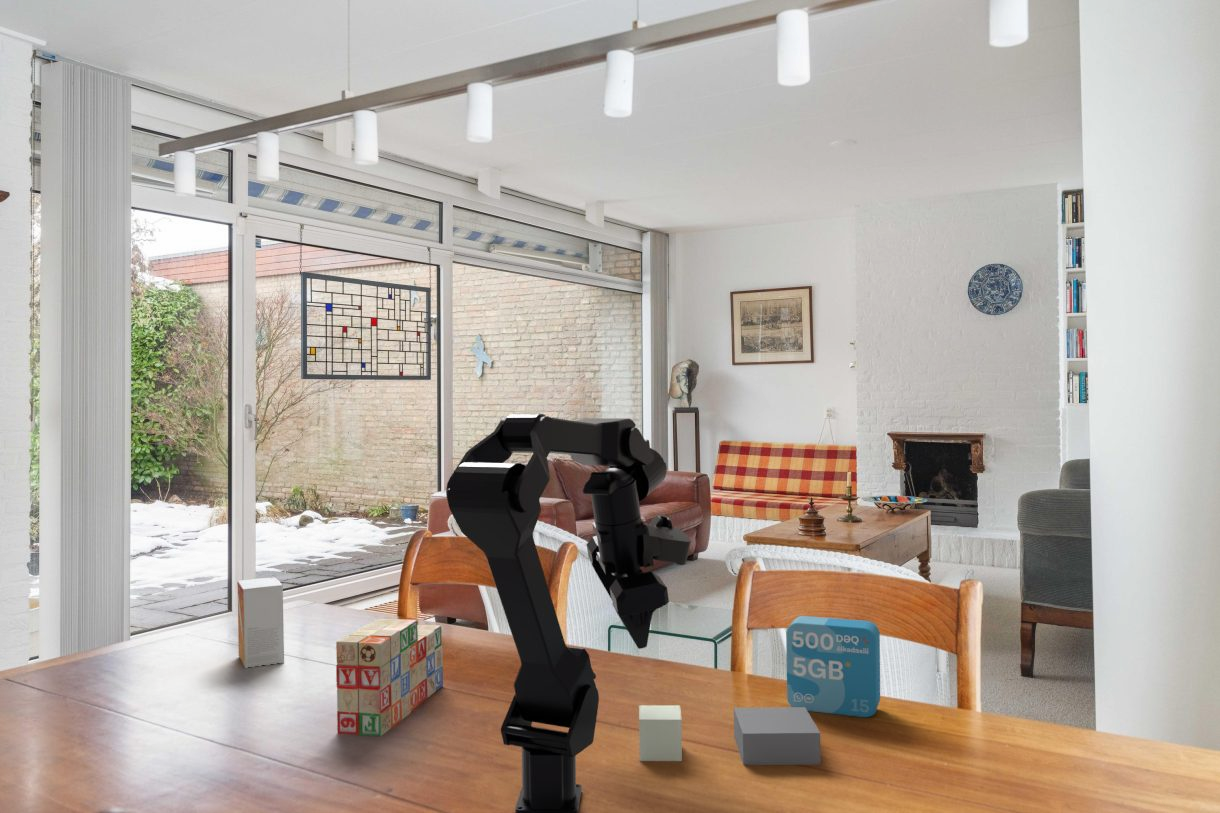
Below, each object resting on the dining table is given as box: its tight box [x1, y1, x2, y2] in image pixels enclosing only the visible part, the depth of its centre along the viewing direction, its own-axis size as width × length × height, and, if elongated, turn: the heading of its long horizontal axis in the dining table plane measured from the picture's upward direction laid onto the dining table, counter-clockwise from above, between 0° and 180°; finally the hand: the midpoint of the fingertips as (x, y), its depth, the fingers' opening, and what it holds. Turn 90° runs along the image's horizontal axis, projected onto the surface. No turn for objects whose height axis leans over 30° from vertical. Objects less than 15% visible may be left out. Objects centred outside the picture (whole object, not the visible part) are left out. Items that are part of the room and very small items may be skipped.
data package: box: [785, 615, 881, 718], centre depth 127 cm, size 12×4×12 cm, turn 68°
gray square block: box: [733, 706, 822, 766], centre depth 112 cm, size 9×9×4 cm
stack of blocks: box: [335, 618, 444, 737], centre depth 129 cm, size 21×6×12 cm, turn 169°
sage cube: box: [638, 704, 683, 762], centre depth 112 cm, size 5×5×5 cm
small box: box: [237, 576, 285, 669], centre depth 154 cm, size 8×6×13 cm
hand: (633, 630), depth 117 cm, fingers open, 9 cm apart
